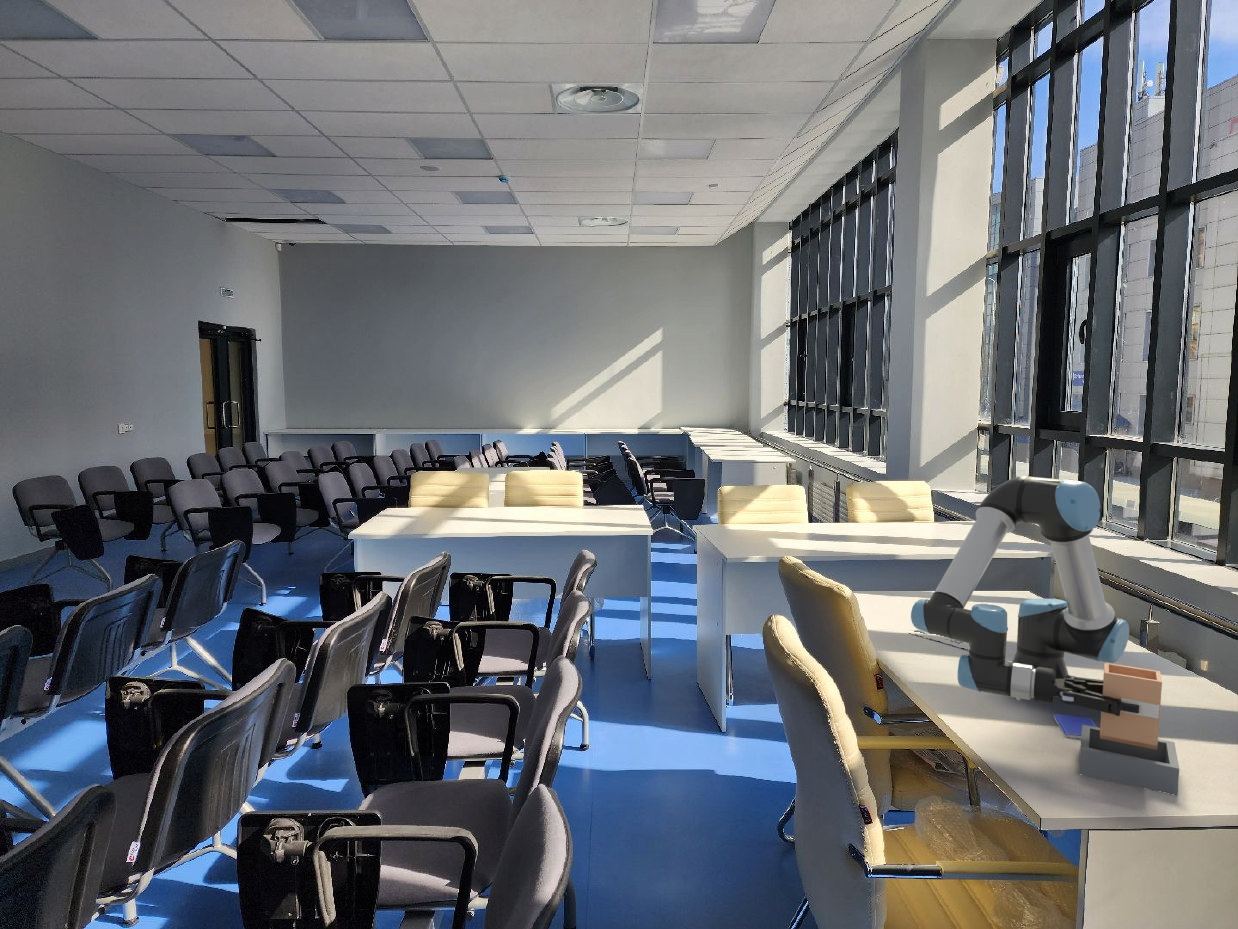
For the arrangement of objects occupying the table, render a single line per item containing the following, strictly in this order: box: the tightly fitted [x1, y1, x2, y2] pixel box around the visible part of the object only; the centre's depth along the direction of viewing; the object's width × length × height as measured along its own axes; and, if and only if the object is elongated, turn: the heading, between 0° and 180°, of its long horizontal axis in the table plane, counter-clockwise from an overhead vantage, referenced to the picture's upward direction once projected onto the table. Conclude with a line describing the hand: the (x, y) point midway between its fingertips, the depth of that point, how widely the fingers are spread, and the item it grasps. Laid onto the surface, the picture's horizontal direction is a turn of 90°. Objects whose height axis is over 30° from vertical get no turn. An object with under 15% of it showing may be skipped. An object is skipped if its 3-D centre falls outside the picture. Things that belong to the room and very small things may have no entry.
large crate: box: [1078, 725, 1180, 796], centre depth 172 cm, size 15×17×6 cm
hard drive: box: [1053, 714, 1098, 740], centre depth 194 cm, size 2×8×12 cm
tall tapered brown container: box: [1099, 662, 1163, 750], centre depth 171 cm, size 8×10×14 cm
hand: (1157, 705), depth 168 cm, fingers closed on tall tapered brown container, 8 cm apart
